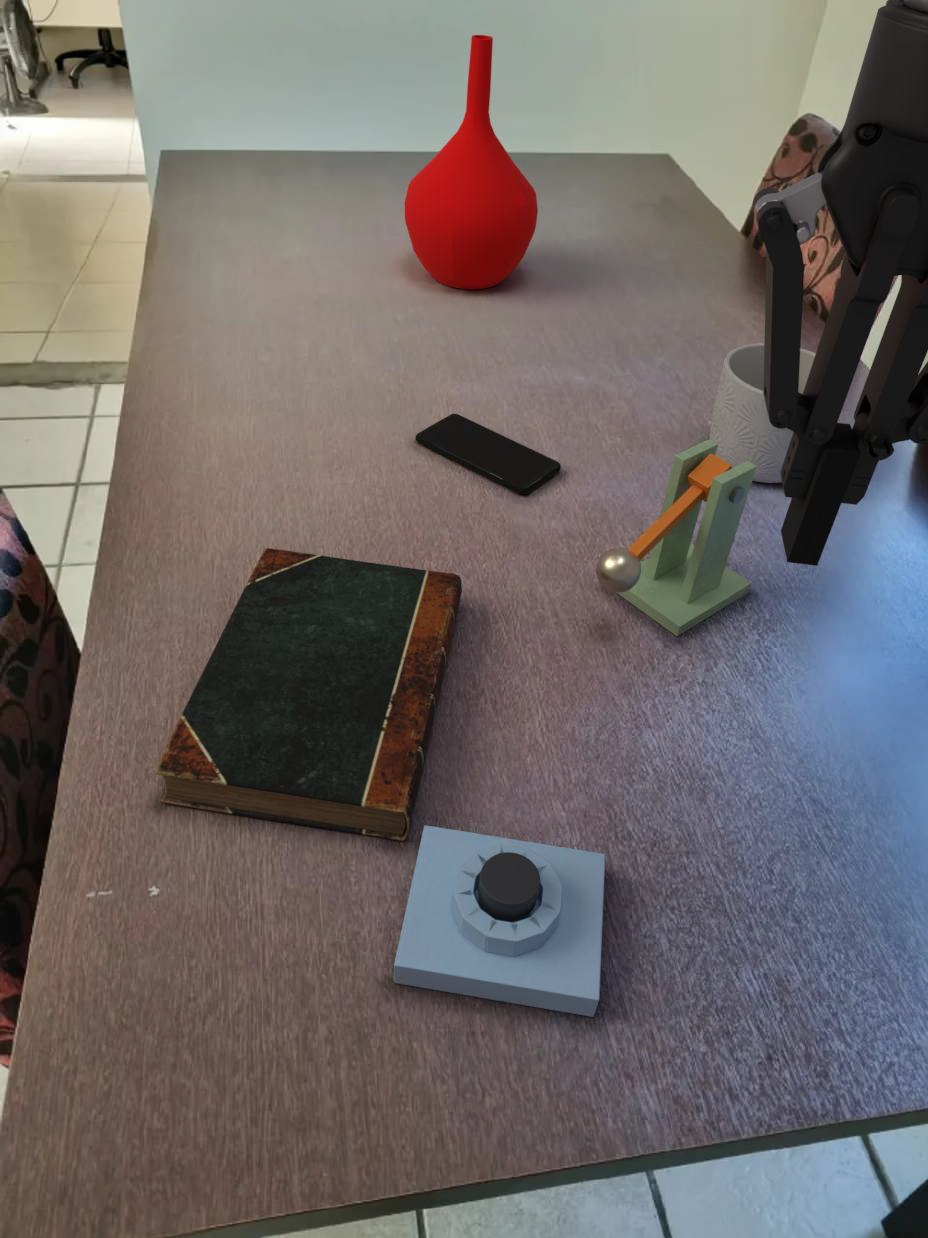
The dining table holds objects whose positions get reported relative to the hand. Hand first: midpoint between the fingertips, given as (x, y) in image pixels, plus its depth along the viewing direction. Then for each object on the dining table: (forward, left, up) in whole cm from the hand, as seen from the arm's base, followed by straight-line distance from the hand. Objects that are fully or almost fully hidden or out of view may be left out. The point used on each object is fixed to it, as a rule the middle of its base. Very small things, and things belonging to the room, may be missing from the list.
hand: (798, 547), depth 48 cm
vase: (+29, -92, -26) cm, 100 cm away
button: (+12, +9, -22) cm, 26 cm away
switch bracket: (0, -27, -26) cm, 37 cm away
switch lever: (+3, -24, -18) cm, 30 cm away
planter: (-9, -51, -26) cm, 58 cm away
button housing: (+12, +9, -26) cm, 30 cm away
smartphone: (+20, -45, -26) cm, 56 cm away
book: (+28, -8, -26) cm, 39 cm away
